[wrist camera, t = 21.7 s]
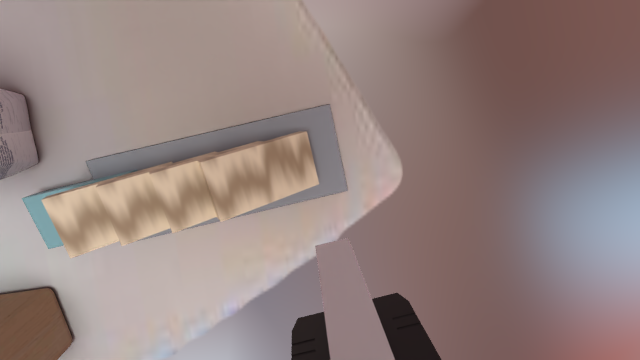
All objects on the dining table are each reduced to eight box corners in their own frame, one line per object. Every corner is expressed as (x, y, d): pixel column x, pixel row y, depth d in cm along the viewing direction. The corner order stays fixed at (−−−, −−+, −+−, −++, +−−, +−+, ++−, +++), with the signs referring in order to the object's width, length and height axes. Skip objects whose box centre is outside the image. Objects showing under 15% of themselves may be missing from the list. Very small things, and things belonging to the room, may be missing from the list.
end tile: (137, 169, 39) (38, 192, 39) (126, 173, 37) (21, 198, 37) (156, 217, 41) (62, 240, 41) (148, 225, 39) (48, 248, 38)
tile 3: (214, 151, 39) (98, 184, 34) (218, 152, 37) (95, 187, 31) (230, 200, 41) (123, 239, 35) (234, 204, 39) (122, 246, 33)
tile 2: (257, 141, 39) (149, 171, 34) (263, 141, 37) (149, 174, 32) (271, 190, 41) (171, 227, 36) (278, 193, 39) (172, 233, 34)
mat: (87, 160, 39) (85, 161, 38) (329, 104, 39) (329, 104, 39) (124, 243, 42) (122, 244, 42) (347, 189, 42) (347, 190, 42)
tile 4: (171, 161, 39) (47, 195, 33) (173, 163, 37) (41, 199, 31) (189, 210, 41) (74, 251, 35) (191, 214, 39) (70, 258, 33)
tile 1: (298, 131, 39) (197, 160, 34) (306, 131, 37) (200, 162, 32) (310, 181, 41) (216, 217, 36) (319, 184, 39) (220, 222, 34)
